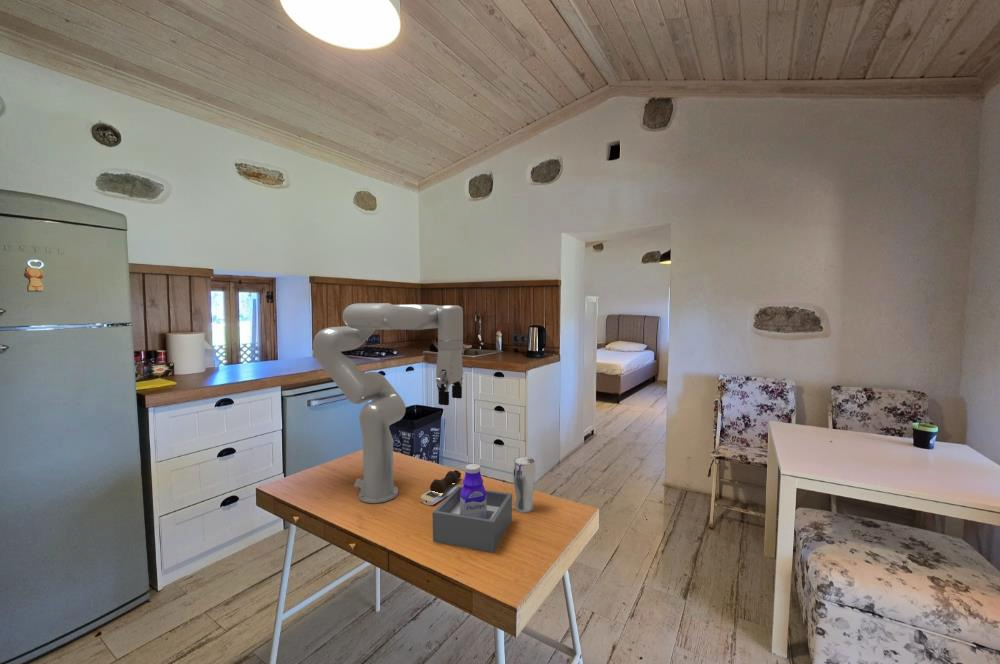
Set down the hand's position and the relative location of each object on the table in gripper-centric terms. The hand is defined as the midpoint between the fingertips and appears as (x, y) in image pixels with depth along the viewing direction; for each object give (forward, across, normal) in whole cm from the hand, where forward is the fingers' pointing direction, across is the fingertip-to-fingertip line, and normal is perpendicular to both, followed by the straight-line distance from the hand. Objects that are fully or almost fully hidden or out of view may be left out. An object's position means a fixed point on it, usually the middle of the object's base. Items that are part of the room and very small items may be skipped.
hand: (450, 401), depth 129 cm
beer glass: (+33, -6, +22) cm, 40 cm away
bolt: (+34, -13, -7) cm, 37 cm away
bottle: (+32, +11, +12) cm, 36 cm away
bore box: (+33, +11, +12) cm, 37 cm away
